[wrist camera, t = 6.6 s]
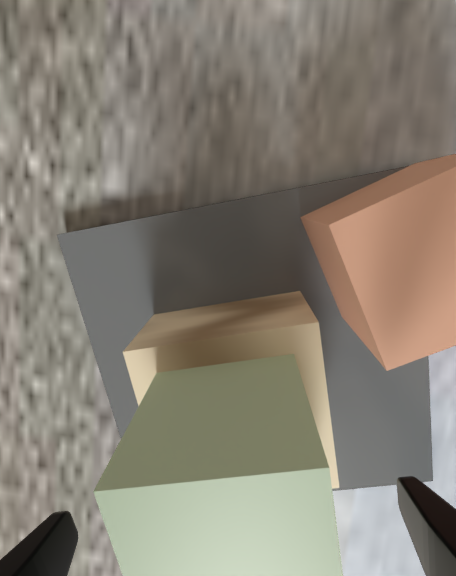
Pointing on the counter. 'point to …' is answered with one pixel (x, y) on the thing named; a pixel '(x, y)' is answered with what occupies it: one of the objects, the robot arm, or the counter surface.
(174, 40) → the counter surface
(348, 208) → the salmon pink cube
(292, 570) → the pale green cube
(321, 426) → the maple brick
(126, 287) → the slate tile
